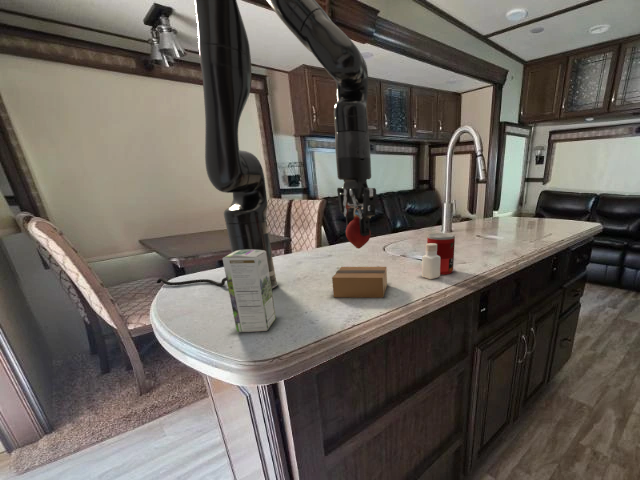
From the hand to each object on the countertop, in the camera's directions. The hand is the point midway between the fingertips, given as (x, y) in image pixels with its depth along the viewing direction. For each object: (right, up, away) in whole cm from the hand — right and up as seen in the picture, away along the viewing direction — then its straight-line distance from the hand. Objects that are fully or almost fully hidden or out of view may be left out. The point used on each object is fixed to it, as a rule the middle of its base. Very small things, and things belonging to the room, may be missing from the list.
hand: (358, 233), depth 75 cm
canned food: (+22, -7, +21) cm, 31 cm away
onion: (0, -4, +1) cm, 4 cm away
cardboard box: (0, -14, +5) cm, 14 cm away
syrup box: (-18, -21, -13) cm, 31 cm away
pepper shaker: (+19, -10, +16) cm, 26 cm away
